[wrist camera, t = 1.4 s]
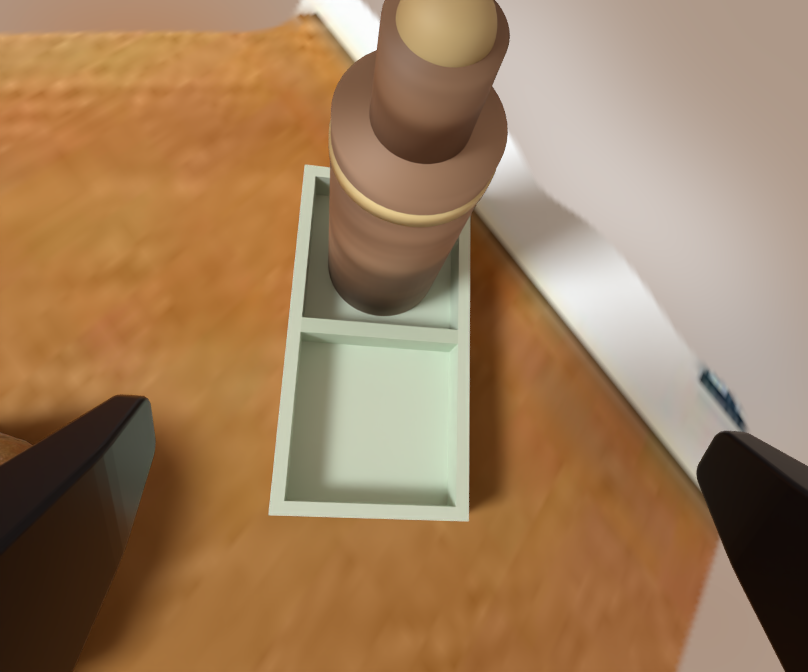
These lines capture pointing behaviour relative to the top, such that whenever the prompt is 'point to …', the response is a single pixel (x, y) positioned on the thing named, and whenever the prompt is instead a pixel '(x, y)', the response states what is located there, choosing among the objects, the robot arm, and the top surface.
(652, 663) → the top surface
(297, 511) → the caddy
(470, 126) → the pepper mill
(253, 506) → the top surface
